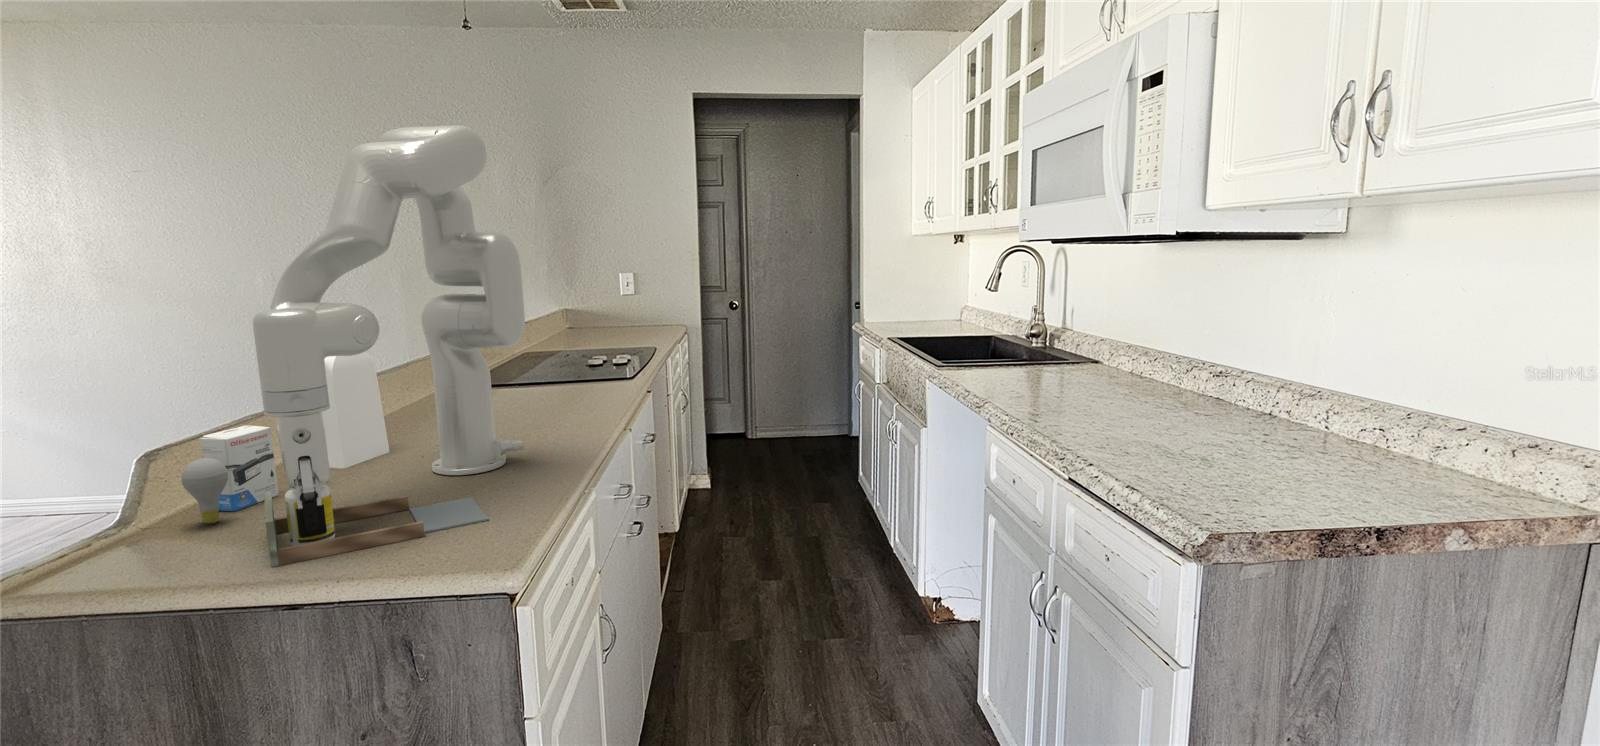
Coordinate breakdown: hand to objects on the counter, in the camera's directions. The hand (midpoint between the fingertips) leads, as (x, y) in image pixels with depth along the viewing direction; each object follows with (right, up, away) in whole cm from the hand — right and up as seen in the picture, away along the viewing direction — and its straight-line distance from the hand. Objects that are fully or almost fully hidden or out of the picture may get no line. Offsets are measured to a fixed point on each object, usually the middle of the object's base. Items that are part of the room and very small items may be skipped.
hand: (311, 527), depth 109 cm
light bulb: (-20, -1, +8) cm, 21 cm away
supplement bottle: (0, -2, 0) cm, 2 cm away
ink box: (-21, 0, +17) cm, 27 cm away
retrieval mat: (+14, 0, +10) cm, 18 cm away
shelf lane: (+3, -2, +3) cm, 4 cm away
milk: (-21, +5, +43) cm, 48 cm away
